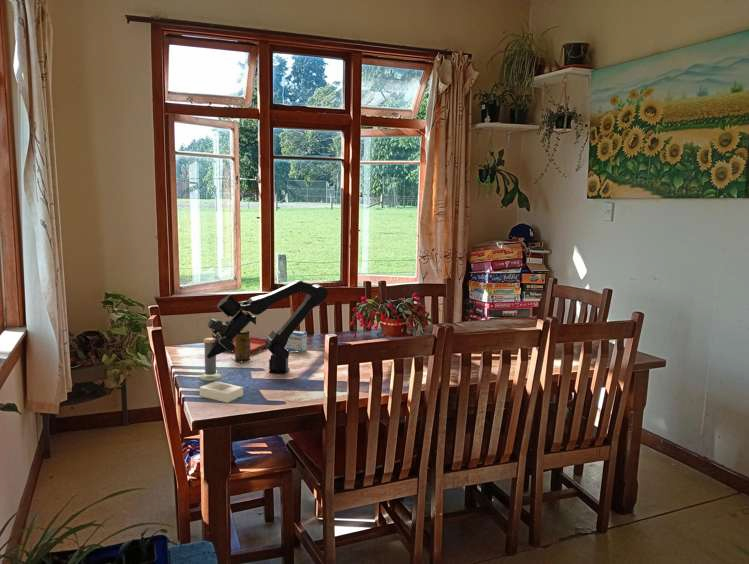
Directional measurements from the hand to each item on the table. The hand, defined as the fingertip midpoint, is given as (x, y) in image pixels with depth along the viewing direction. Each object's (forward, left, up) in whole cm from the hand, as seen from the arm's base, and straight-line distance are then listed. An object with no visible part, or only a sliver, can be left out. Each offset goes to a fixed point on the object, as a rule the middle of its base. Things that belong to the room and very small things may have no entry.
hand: (206, 355), depth 218 cm
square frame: (-13, +17, -8) cm, 23 cm away
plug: (-1, -1, -7) cm, 7 cm away
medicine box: (-21, -45, -9) cm, 50 cm away
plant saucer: (+2, -43, -9) cm, 44 cm away
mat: (-1, -1, -8) cm, 8 cm away
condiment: (-4, -26, -9) cm, 27 cm away
